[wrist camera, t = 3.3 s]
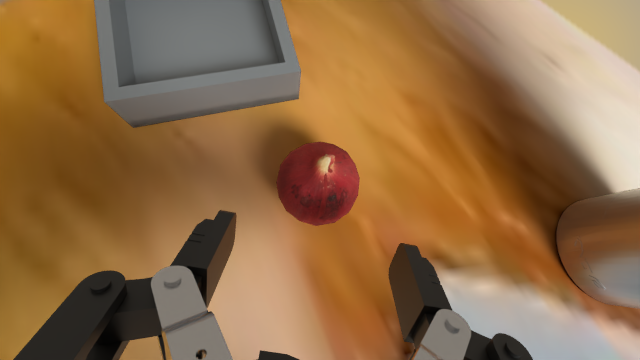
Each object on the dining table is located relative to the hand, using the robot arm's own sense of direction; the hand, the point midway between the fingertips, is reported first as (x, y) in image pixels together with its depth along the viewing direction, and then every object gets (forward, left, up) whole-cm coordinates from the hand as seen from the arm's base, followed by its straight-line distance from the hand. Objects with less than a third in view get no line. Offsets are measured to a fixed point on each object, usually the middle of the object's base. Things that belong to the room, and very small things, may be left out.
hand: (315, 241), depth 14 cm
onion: (-2, -4, -9) cm, 10 cm away
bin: (+4, -20, -9) cm, 22 cm away
